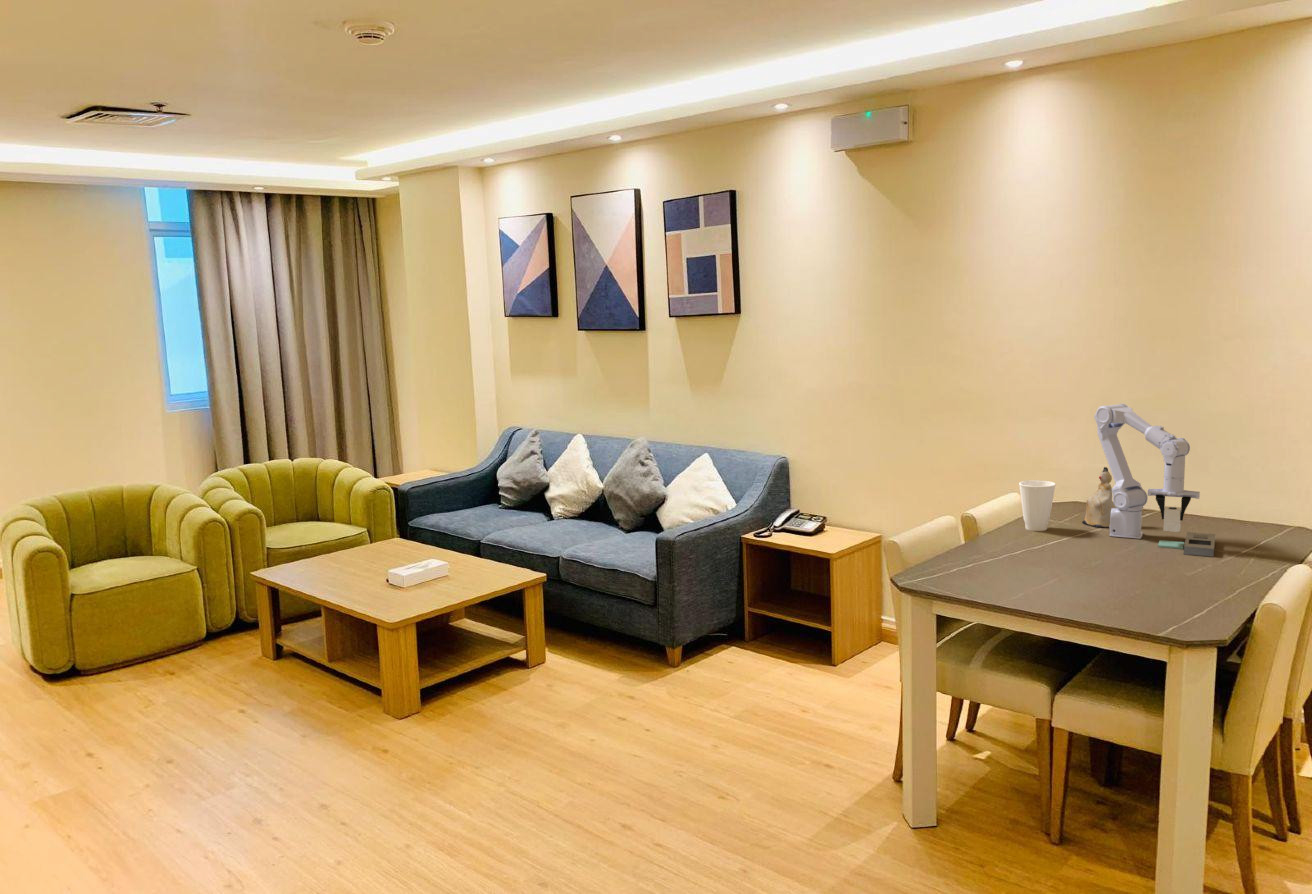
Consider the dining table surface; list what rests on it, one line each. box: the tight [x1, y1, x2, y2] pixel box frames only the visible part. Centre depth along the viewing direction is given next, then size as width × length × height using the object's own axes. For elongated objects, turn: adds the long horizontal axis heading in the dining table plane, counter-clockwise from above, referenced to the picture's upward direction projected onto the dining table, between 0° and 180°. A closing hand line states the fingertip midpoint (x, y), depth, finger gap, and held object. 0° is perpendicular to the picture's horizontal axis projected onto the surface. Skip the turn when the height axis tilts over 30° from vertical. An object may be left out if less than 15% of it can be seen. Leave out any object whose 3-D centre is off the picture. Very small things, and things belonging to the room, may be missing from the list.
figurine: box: [1081, 466, 1117, 529], centre depth 348 cm, size 12×10×20 cm
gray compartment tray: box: [1183, 531, 1216, 558], centre depth 314 cm, size 8×20×3 cm, turn 150°
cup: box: [1018, 479, 1057, 532], centre depth 345 cm, size 12×12×16 cm
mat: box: [1157, 539, 1185, 550], centre depth 318 cm, size 7×7×1 cm
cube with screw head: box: [1163, 505, 1182, 533], centre depth 317 cm, size 4×4×7 cm
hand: (1172, 519), depth 317 cm, fingers closed on cube with screw head, 4 cm apart
